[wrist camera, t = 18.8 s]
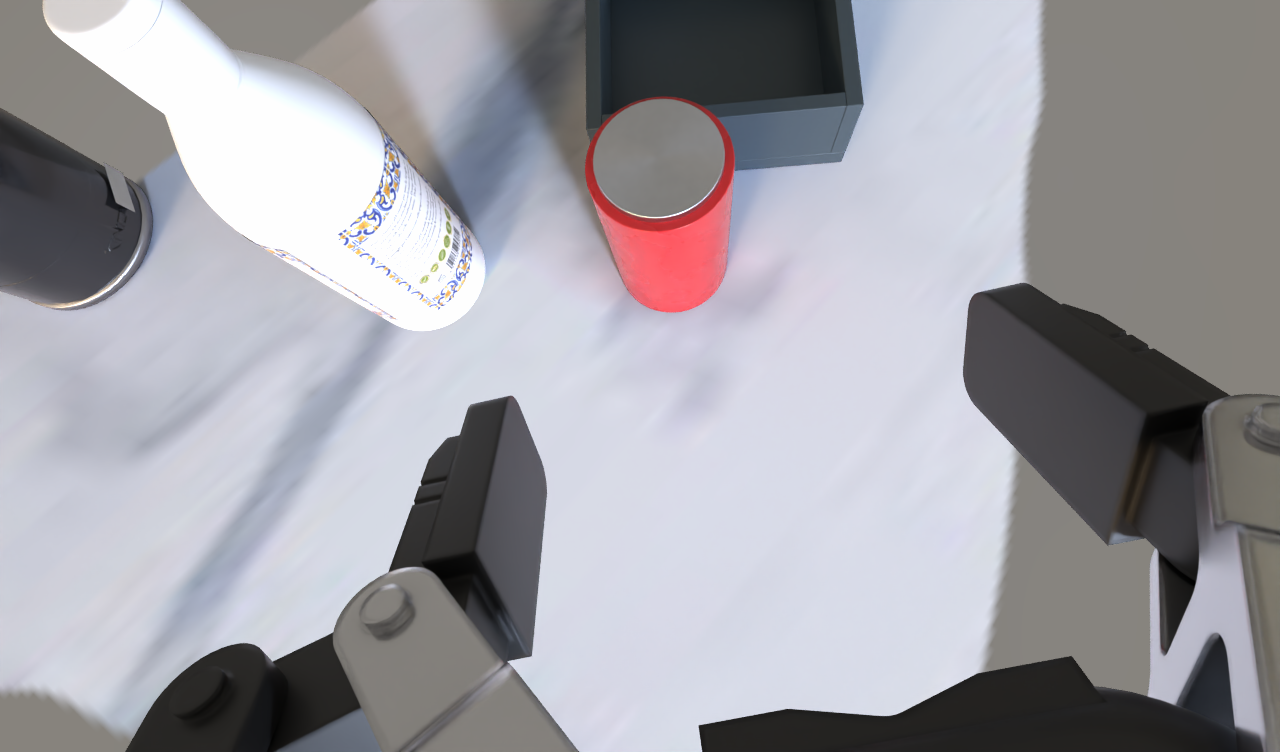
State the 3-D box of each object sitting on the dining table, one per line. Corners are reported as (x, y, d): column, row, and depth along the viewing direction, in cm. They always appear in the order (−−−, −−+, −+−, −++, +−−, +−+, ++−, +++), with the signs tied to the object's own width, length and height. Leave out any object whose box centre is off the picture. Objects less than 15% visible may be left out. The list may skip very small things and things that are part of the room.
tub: (602, 181, 35) (585, 129, 30) (599, -13, 38) (584, -89, 33) (841, 162, 34) (864, 104, 29) (819, -38, 37) (836, -121, 32)
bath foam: (480, 210, 36) (210, -146, 16) (496, 319, 34) (217, 69, 15) (370, 236, 36) (-23, -80, 17) (380, 344, 34) (-41, 136, 15)
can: (620, 315, 33) (583, 232, 23) (618, 216, 35) (582, 96, 24) (729, 309, 33) (739, 221, 23) (723, 208, 34) (730, 82, 24)
